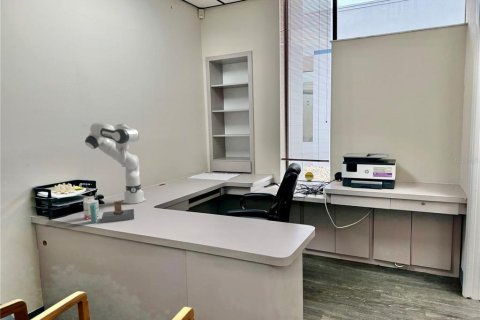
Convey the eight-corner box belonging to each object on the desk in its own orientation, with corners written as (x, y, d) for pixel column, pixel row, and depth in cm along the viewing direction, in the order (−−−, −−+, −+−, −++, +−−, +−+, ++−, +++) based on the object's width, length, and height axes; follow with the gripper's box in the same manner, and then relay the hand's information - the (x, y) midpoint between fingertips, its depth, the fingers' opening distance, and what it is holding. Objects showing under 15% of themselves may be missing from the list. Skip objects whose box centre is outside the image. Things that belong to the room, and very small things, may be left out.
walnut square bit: (115, 218, 225) (114, 201, 224) (121, 217, 227) (120, 200, 226) (116, 219, 222) (114, 202, 220) (122, 218, 224) (120, 201, 222)
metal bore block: (104, 217, 227) (103, 212, 227) (134, 214, 233) (133, 209, 233) (102, 222, 216) (101, 216, 215) (134, 219, 222) (133, 213, 221)
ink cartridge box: (88, 219, 224) (87, 198, 222) (84, 218, 226) (82, 198, 225) (99, 216, 231) (98, 196, 229) (95, 215, 234) (93, 195, 232)
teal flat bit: (92, 220, 222) (91, 203, 221) (96, 220, 223) (95, 202, 221) (91, 223, 215) (89, 205, 214) (95, 222, 216) (94, 205, 215)
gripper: (126, 147, 227) (127, 167, 228) (127, 145, 246) (128, 164, 248) (116, 148, 225) (118, 168, 226) (118, 146, 244) (119, 164, 246)
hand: (123, 165), depth 237 cm, fingers open, 8 cm apart
